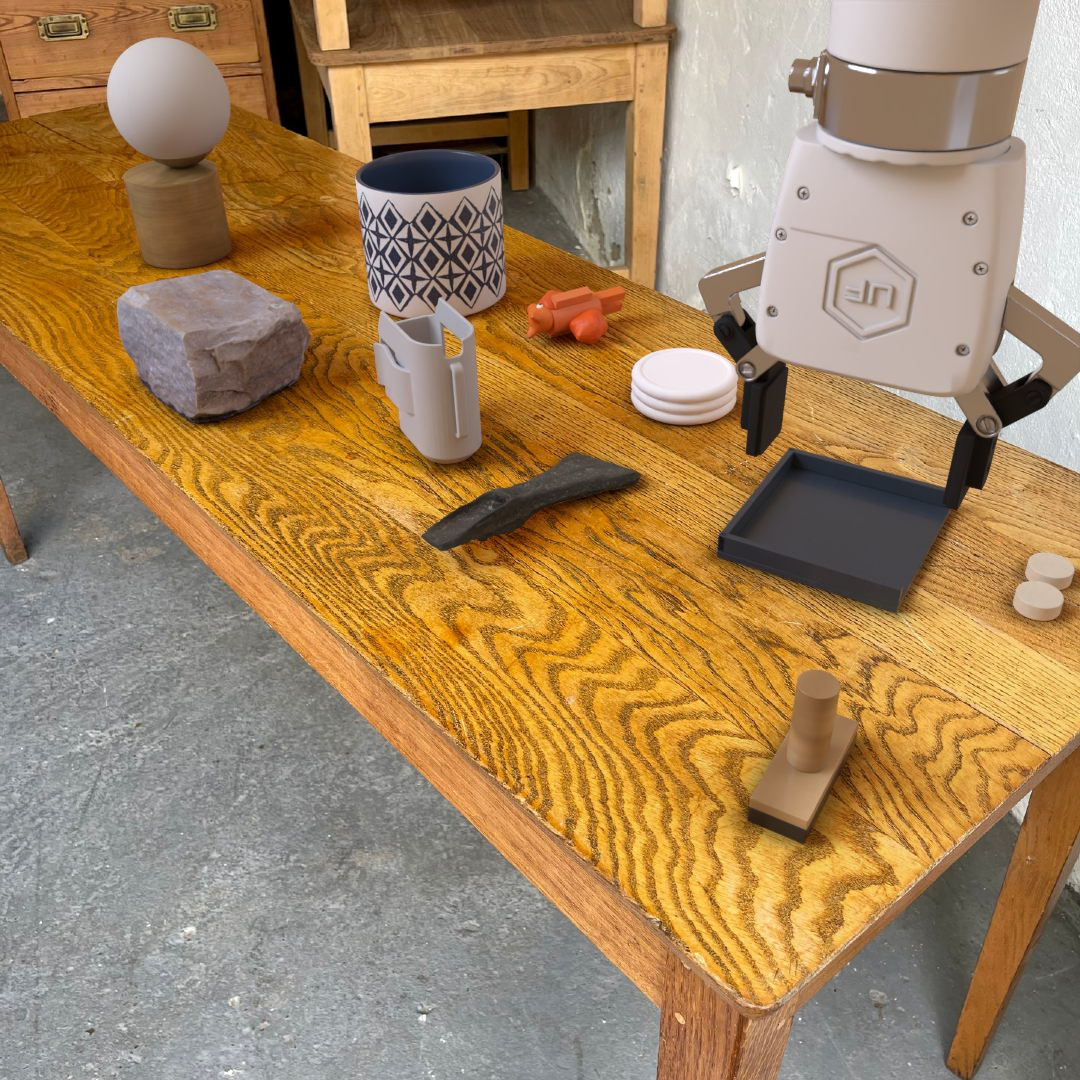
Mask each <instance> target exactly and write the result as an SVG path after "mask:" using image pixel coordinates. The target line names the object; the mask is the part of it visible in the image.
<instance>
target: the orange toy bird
mask: <svg viewBox="0 0 1080 1080" xmlns="http://www.w3.org/2000/svg"><path fill="white" fill-rule="evenodd" d="M626 295H627V291H626V290H625V289H624V287H623V286H622V285H619V286H615V287H610V288H607V289H603V290H600V291H593V290H591V289H590V287H589V286H582V287H578V288H575V289H571V290H566V291H561V290H555V289H550V290H548V291H547V292H546V293H545V294H544V295H543V296H542V297H541V298H540V299H539V301H538V302H537V303H531V304H528V306H527V309H526V311H527V323H528V325H529V326H528V331H527V333H526V338H527V339H529V340H531V339H532V338H534V337H536V336H538V335H539V334H544V333H545V334H546V335H547V336H548V337H549V338H550V339H552V338H556V337H560V336H564V335H567V334H570V333H571V334H573V336H574V337H575V339H576V340H577V342H580V343H584V344H587V345H593V344H595V343H597V342H598V341H599V339H600V338H601V337H602V336H604V335H605V334H606V333H607V331H608V329H609V325H608V322H607V319H606V317H605V316H608V315H610V314H614V313H618V312H621V311H622V309H623V305H624V303H623V302H622V301H623V300H625V298H626Z"/></svg>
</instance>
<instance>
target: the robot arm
mask: <svg viewBox="0 0 1080 1080" xmlns="http://www.w3.org/2000/svg"><path fill="white" fill-rule="evenodd" d="M1041 1H1042V0H831V6H830V11H829V12H830V14H829V22H828V31H827V39H826V48H825V49H823V50H822V51H820V54H819V56H813V57H812V58H811V59H806V58H795V59H794V60H793V62H792V64H791V66H790V69H789V73H788V82H787V85H788V91H789V92H790V93H791V94H799V95H801V94H802V95H804V97H805V98H806V99H811V100H812V106H813V116H812V119H814V121H812V122H810V123H808V124H807V125H805V126H803V127H801V128H799V129H798V130H797V131H796V133H795V136H794V138H793V141H792V144H791V148H790V150H789V153H788V156H787V160H786V163H785V167H784V171H783V174H782V179H781V182H780V186H779V190H778V193H777V199H776V203H775V208H774V213H773V217H772V222H771V227H770V232H769V237H768V240H767V247H766V250H764V251H762V252H759V253H756V254H753V255H750V256H747V257H743V258H742V259H738V260H735V261H733V262H729V263H726V264H724V265H720V266H717V267H715V268H712V269H711V270H710V271H708V272H707V273H706V274H704V275H703V276H702V277H701V278H700V279H699V281H698V283H697V288H698V291H699V294H700V296H701V299H702V301H703V304H704V306H705V308H706V311H707V313H708V316H709V318H711V319H712V321H713V326H712V327H713V328H712V331H713V335H714V336H715V338H716V339H717V340H718V341H719V343H720V344H721V346H722V347H723V348H724V349H725V351H726V352H727V353H728V355H729V356H730V357H731V359H732V360H733V361H734V363H735V365H734V366H735V370H736V374H737V375H738V379H740V380H741V381H743V388H742V389H743V390H742V400H741V401H742V402H741V411H740V423H739V424H740V425H739V426H740V429H741V430H745V431H747V432H746V441H745V455H747V456H750V457H754V458H758V456H762V455H763V454H764V453H765V452H766V451H767V449H768V448H769V447H770V446H771V444H772V443H773V442H774V441H775V440H776V438H778V436H779V435H780V434H781V432H782V429H783V423H784V422H783V421H784V413H785V404H786V395H787V394H786V393H787V385H788V379H789V367H788V366H787V364H788V365H791V366H794V367H799V368H802V369H807V370H809V371H810V370H811V371H815V372H819V373H823V374H828V375H833V376H837V377H842V378H846V379H849V380H854V381H857V382H858V381H859V382H864V383H867V384H872V385H877V386H881V387H885V388H890V389H895V390H899V391H905V392H908V393H914V394H918V395H924V396H928V397H935V398H936V397H937V398H953V399H954V400H955V402H956V404H957V405H958V407H959V409H960V410H961V411H962V413H963V415H964V416H965V418H966V419H965V421H964V423H963V424H962V426H961V427H960V430H959V431H958V433H957V435H956V438H955V443H954V448H953V452H952V457H951V463H950V465H949V470H948V475H947V478H946V484H945V487H946V488H945V492H944V497H943V501H942V504H945V505H946V508H949V509H951V510H953V511H959V509H960V507H961V505H962V504H963V501H964V500H965V498H966V495H967V493H968V492H969V490H970V488H971V489H975V490H979V491H982V490H983V489H984V487H985V485H986V483H987V480H988V477H989V474H990V471H991V468H992V464H993V458H994V455H995V451H996V447H997V443H998V439H999V435H1000V433H1001V431H1002V429H1005V428H1007V427H1008V426H1011V425H1013V424H1014V423H1017V422H1018V421H1021V420H1022V419H1024V418H1026V417H1029V416H1030V415H1032V414H1035V413H1036V412H1038V411H1040V410H1042V409H1044V408H1045V407H1046V406H1047V405H1048V404H1049V402H1050V401H1051V400H1052V399H1053V398H1055V396H1057V394H1058V393H1059V392H1061V391H1062V390H1063V389H1065V387H1066V386H1067V385H1068V384H1069V383H1070V382H1072V380H1073V379H1075V377H1076V376H1077V375H1078V374H1080V332H1079V331H1078V330H1076V329H1075V328H1073V327H1072V326H1070V325H1069V324H1068V323H1066V322H1065V321H1063V320H1062V319H1061V318H1060V317H1058V316H1057V315H1055V314H1054V313H1052V312H1051V311H1050V310H1048V309H1047V308H1046V307H1045V306H1043V305H1042V304H1040V303H1039V302H1037V301H1036V300H1034V299H1033V298H1032V297H1031V296H1030V295H1028V294H1026V293H1025V292H1023V291H1022V290H1021V289H1020V288H1018V287H1017V286H1015V280H1016V274H1017V268H1018V261H1019V254H1020V247H1021V241H1022V240H1021V239H1022V232H1023V224H1024V213H1025V203H1026V202H1025V201H1026V184H1027V145H1026V143H1025V141H1024V140H1023V139H1022V138H1020V137H1018V136H1014V135H1012V134H1013V130H1014V125H1015V121H1016V116H1017V112H1018V108H1019V107H1018V106H1019V102H1020V98H1021V93H1022V88H1023V84H1024V80H1025V76H1026V75H1025V74H1026V70H1027V65H1028V60H1029V54H1030V51H1031V46H1032V41H1033V37H1034V32H1035V28H1036V24H1037V18H1038V14H1039V11H1040V6H1041ZM757 287H759V291H758V300H757V307H756V317H755V320H754V319H753V317H752V316H751V315H750V314H749V313H748V311H747V310H746V309H745V308H743V306H742V304H741V303H742V299H741V297H740V293H742V292H743V291H749V290H751V289H754V288H757ZM1005 332H1008V333H1009V334H1010V335H1011V336H1012V337H1015V338H1016V339H1017V340H1019V342H1021V343H1023V344H1024V345H1026V347H1028V348H1029V349H1031V350H1032V351H1033V352H1035V353H1036V354H1037V355H1038V356H1040V358H1041V360H1042V362H1041V363H1040V365H1038V367H1037V368H1036V369H1035V370H1033V371H1031V372H1029V373H1027V374H1026V375H1024V376H1021V377H1019V378H1018V379H1016V380H1014V381H1012V382H1010V383H1008V381H1007V380H1006V378H1005V376H1004V375H1003V373H1002V372H1001V370H1000V368H999V366H998V365H997V364H996V362H995V360H994V358H993V356H995V355H996V354H997V352H998V350H999V348H1000V347H1001V345H1002V341H1003V339H1004V336H1005Z"/></svg>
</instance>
